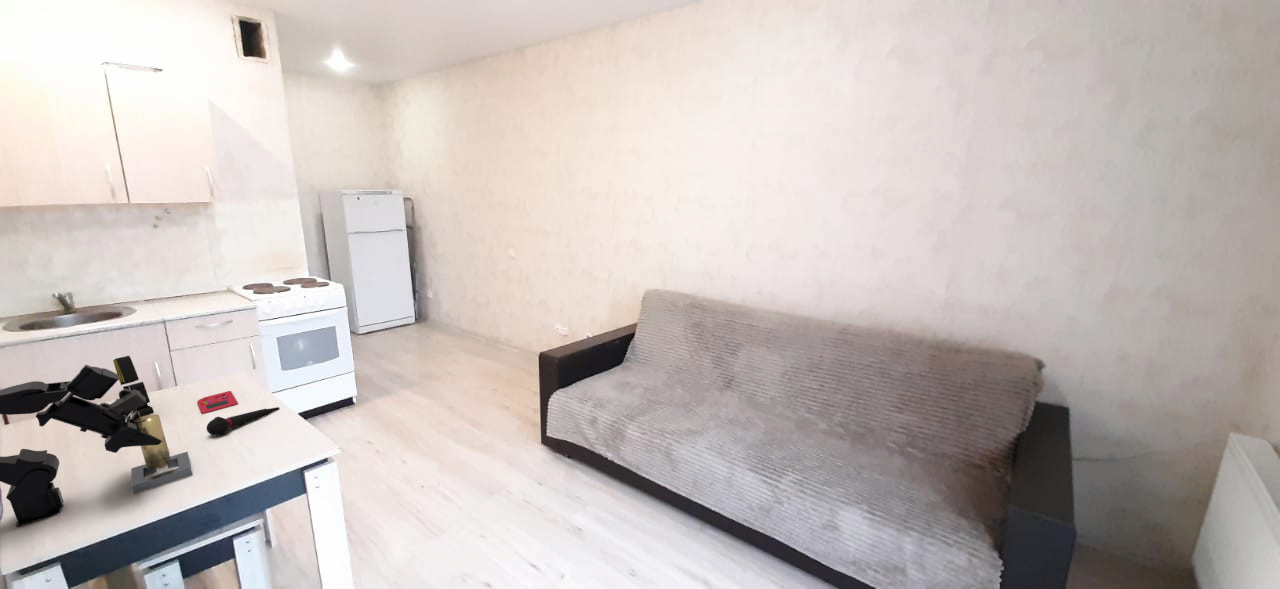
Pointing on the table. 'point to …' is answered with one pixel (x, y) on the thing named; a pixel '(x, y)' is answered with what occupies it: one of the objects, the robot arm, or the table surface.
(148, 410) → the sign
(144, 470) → the frame
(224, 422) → the microphone
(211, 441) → the table surface
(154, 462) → the ball
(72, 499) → the table surface
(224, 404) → the handheld gaming console
